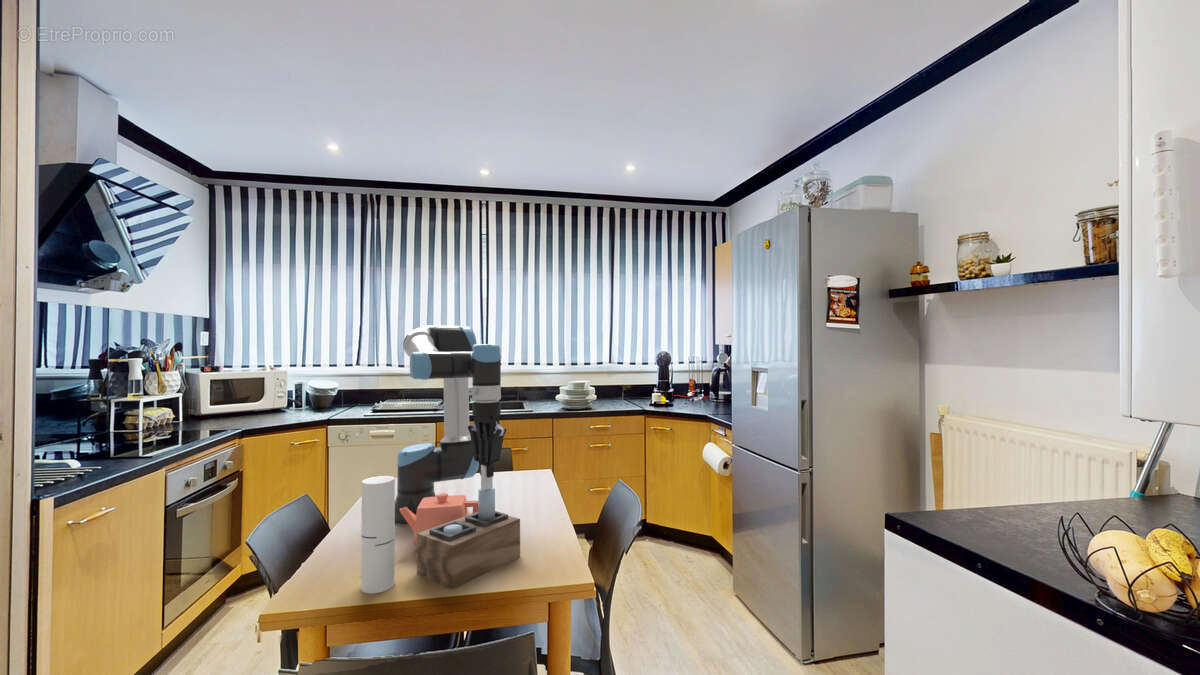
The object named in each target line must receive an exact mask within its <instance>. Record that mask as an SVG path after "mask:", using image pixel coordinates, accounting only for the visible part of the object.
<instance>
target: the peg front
mask: <svg viewBox="0 0 1200 675" xmlns="http://www.w3.org/2000/svg"><path fill="white" fill-rule="evenodd" d="M459 531H462V525H459V524H452V525H448V526H446V527H444V533H447V534H450V535H451V534H454V533H457V532H459Z"/></svg>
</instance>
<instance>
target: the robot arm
mask: <svg viewBox="0 0 1200 675" xmlns="http://www.w3.org/2000/svg"><path fill="white" fill-rule="evenodd" d="M476 338H477V337H476V334H475V332H474V330H473V329H472V327H470V326H468V325H467V326H466V325H460V324H459V325H429V324H428V325H423V326H419V327H417V328H414V329H413V330H411V331H409V332H408V333H407V334H406V336H405V337H404V339H403V344H402V345H403V346H402V347H403V350H404V352H405V354H406V355H407V356H408V357H409V373H410V377H411V378H412V379H413V380H424V381H426V380H433V379H434V380H438V379H439V380H441V379H443V423H444V424H443V426H444V428H443V430H444V431H443V432H444V434H443V435H444V436H443V438H441V440H439V446H435V445H434V443H432V442H430V443H429V442H426V443H425V442H424V443H418V444H417V443H416V444H413V445H410V446H409V445H408V446H406V447H404V448H402V449H401V450H400V451H399V452H398V454H397V463H396V467H397V473H396V474H397V479H396V480H397V482H396V483H397V484H396V490H397V493H396V496H395V523H399V524H408V523H407V521H406V520H405V518H404V517H403V515H402V514H401V512H400V508H404V507H407V508H408V509H409V510H410V511H411V512H412V513H414V514H415V515H416V513H417V508H418V506H419V504H420V502H421V501H422V499H423V498H426V497H436V495H437V494H436V493H435V483H439V482H446V481H454V480H455V481H456V480H465V479H469V478H473V477H474V476H475V475H477V472H478V470H479V475H480V489H481V490H488V489H491V488H494V487H493V486H494V485H493V483H494V482H493V478H494V475H495V474H494V470H495V469H494V467H495V464H498V463H500V460H501V454H502V448H503V442H504V436H505V435H506V433H507V429H506V428H505V427H502V426H501V424H500V419H499V417H500V415H501V413H502V403H501V401H500V400H501V399H502V391H501V390H502V387H501V386H502V384H501V380H502V379H501V378H502V377H501V375H502V374H501V373H502V372H501V371H502V368H501V365H502V364H501V362H502V361H501V360H502V355H501V354H502V353H501V347H500V345H499V344H496V343H494V344H493V343H485V344H484V343H481V344H480V343H477V339H476ZM469 378H470V379H471V378H472V396H471V397H472V398H471V399H472V400H473V402H472V407H471V408H472V410H471V412H472V413H471V414H472V416H473V417H474V420H473V423H472V424H470V399H469V398H470V397H469V396H470V393H469Z"/></svg>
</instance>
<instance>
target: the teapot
mask: <svg viewBox="0 0 1200 675" xmlns="http://www.w3.org/2000/svg"><path fill="white" fill-rule="evenodd" d="M435 495H436V497H426V498H423V499H422V501H421V502H420V504H419V506H418V508H417V513H416V515H415V514H414V513H412V512H411V511H410V510H409V509H408V508H407V507H404V508H400V512H401V514H402V515H403V517H404V518H405V520H406V521H407V523H406V524H407V525H409V527H410V528H411V530H412V531H413V540H414V546H415V547H416V548H417V533H419V532H422V531H425V530H428V529H430V528H433V527H436V526H439V525H442V524H445V523H448V522H450V521H453V520H456V519H459V518H462V517H465V516H467V515H469V510H468V508H472V514H473V513H476V512H478V500H467V497H466V495H464V494H462V495H461V494H459V495H458V494H457V495H449V494H448V493H446V492H444V493H443V492H442V493H438V494H435Z"/></svg>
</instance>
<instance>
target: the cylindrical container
mask: <svg viewBox="0 0 1200 675" xmlns="http://www.w3.org/2000/svg"><path fill="white" fill-rule="evenodd" d="M395 479H396V478H395V476H391V475H378V476H372V477H368V478H365V479H362V480H361V556H360V558H361V562H360V563H361V567H360V568H361V573H360V574H361V582H360V584H361V586H360V587H361V588H360V590H361V592H362V593H364V594H378V593H379V594H380V593H382V592H385V591H388V590H390V589H391V588H392V587H394V585H395V572H396V571H395V567H396V566H395V543H396V542H395V540H396V539H395V536H396V535H395V534H396V533H395V532H396V530H395V525H396V524H395V523H396V522H395V500H396V490H395V489H396V488H395V487H396V480H395Z"/></svg>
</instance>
